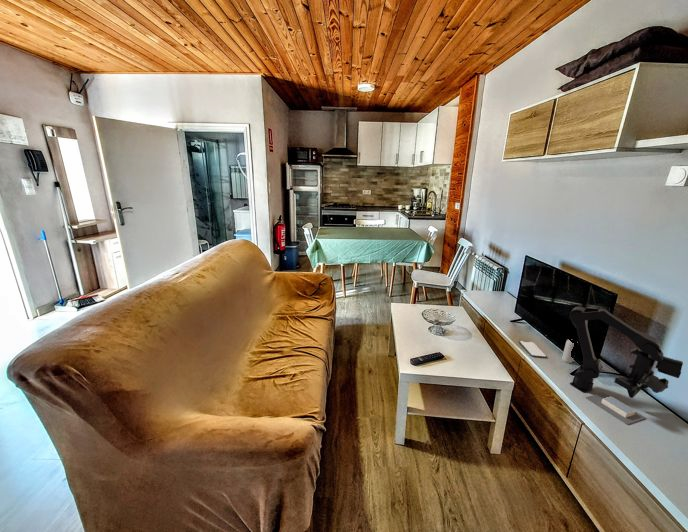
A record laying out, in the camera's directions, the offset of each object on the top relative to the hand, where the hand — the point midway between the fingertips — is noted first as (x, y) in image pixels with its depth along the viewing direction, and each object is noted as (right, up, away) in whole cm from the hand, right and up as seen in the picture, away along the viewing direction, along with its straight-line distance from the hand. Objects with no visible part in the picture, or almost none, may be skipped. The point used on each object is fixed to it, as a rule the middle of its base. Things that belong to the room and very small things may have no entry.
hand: (631, 397), depth 129 cm
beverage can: (-2, +5, +34) cm, 35 cm away
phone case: (-15, +8, +44) cm, 47 cm away
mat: (-7, -5, 0) cm, 8 cm away
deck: (-4, -3, 0) cm, 5 cm away
